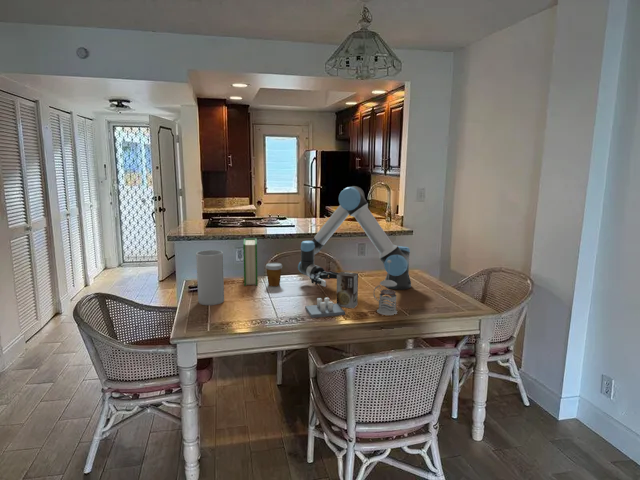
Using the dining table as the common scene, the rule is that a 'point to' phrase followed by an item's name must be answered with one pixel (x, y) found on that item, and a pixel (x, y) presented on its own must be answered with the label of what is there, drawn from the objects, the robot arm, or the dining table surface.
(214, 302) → the cylinder vase
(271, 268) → the disposable coffee cup
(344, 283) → the coffee box
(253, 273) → the hardback book
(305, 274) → the robot arm
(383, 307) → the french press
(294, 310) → the dining table surface
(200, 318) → the dining table surface
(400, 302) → the dining table surface
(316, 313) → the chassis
